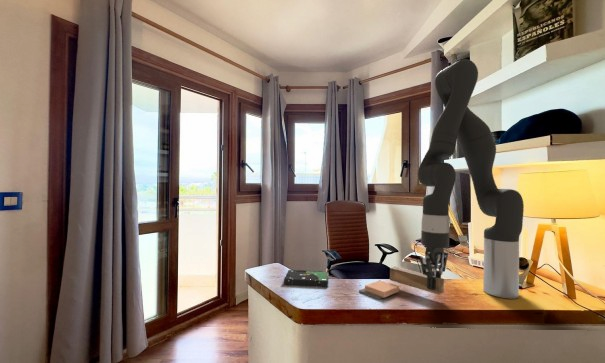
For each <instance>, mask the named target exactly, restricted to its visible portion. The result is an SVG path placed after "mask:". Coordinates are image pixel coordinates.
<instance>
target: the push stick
mask: <svg viewBox="0 0 605 363" xmlns="http://www.w3.org/2000/svg"><path fill="white" fill-rule="evenodd" d="M389 280H390V281H392V282H396V283H398V284H401V285H405V286H408V287H412V288H415V289H418V290H422V291H425V292H428V293H431V294H435V295H441V294H443V293H445V290H444V289H445V288H444V286H445V285H444V283H445V282H444V280H445V279H444V278H443V277H441V278H438V277H436V285H435V290H430V289H428V288H427V276H426V275H423V272H419V271H414V270H411V269H406V268H403V267H399V266H396V265H395V266H391V267H390V268H389Z"/></svg>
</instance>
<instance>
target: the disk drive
mask: <svg viewBox="0 0 605 363" xmlns="http://www.w3.org/2000/svg"><path fill="white" fill-rule="evenodd" d="M285 275H286V276H284V278H283V285H284V286H295V287H309V288H310V287H314V288H315V287H316V288H329V279H330V278H329V271H323V270H321V271H320V270H318V271H317V270H300V269H288V271H287V272H286V274H285ZM310 279H311V280H310ZM322 279H326V280H322Z"/></svg>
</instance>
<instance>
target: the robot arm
mask: <svg viewBox="0 0 605 363" xmlns="http://www.w3.org/2000/svg"><path fill="white" fill-rule="evenodd" d="M478 78H479V71H478V67H477V65H476V64H475V62H473V61H472V60H471V59H468V58H464V59H460V60H458V61H455V62H454V63H452V64H450V65H449V66H447V67H445V68H443V69H442V70H440V71H439V72H438V73H437V74H436V75H435V78H434V87H435V89H436V90H435V91H436V92H437V95H438V96H439V99H440V101H441V103H442V104H443V107H444V109H443V111H442V112H441V114H440V116H439V117H438V119H437V121H436V123H435V125H434V127H433V130H432V133H431V137H430V143H429V147H428V150H427V152H426V153H425V154H424V157H423V158H422V160H421V163H420V165H419V167H418V170H417V178H418V182H419V183H420V184H421V185H422V186H424V187H432V188H433V187H434V189H433V191H432V193H430V194H427V195H425V196H424V197H423V200H422V217H421V228H420V229H421V234H420V235H421V236H420V241H421V245H422V246H425V251H424V256H420V257H419V261H420V267H421V269H422V273H423V275H426V276H427V288H428V289H430V290H435V285H436V277H438V278H442V275H443V273H444V272H445V271H446V267H447V262H448V258H449V257H448V256H449V252H446V251H445V250H444V249H446V248H449V247H450V219H449V218H450V217H449V212H450V211H449V210H450V209H449V208H450V207H449V206H450V205H449V204H450V203H449V202H450V199H451V196H452V193H453V189H454V187H455V183H456V178H457V174H456V170H455V167H454V166H453V165H452V164H451V163H449V162H444V160H446V159H448V158H451V157H452V156H453V155H454V153H455V150H456V146H457V141H458V144H459V147H460V150H461V153H462V155H463V157H464V160H465V163H466V165H467V168H468V171H469V174H470V178H471V181H472V184H473V190H474V194H475V198H476V201H477V204H478V207H479V210H480V211H481V212H482V213H483V214H484V215H486V216H488V217H491V218H495V221H494V225H492V226H490V227H486V228H484V230H483V282H482V284H483V287H482V288H483V290H482V291H483V292H484V293H486V294H487V295H488V294H489V295H490V296H493V297H497V298H503V299H512V300H513V299H517V298H519V296H520V293H519V290H520V289H519V288H520V236H521V233H522V230H523V226H524V225H523V221H524V211H525V210H524V207H525V206H524V199H523V197H522V195H521V193H520V192H519V191H517V190H515V189H511V188H499V187H498V186H497V185H496V182H495V179H494V175H493V174H494V173H493V168H494V163H495V160H496V159H495V158H496V154H497V146H496V141H495V139H494V136H493V133H492V131H491V129H490V127H489V125H488V124H487V123H486V122H485V121H483V119H481V118H480V117H479V116H478V115H476V113H474V112H473V111H472V110H471V109H470V108H469V107H468V105H469V103H470V100H471V97H472V95H473V93H474V90H475V88H476V85H477V82H478Z"/></svg>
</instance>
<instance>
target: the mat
mask: <svg viewBox="0 0 605 363" xmlns="http://www.w3.org/2000/svg"><path fill="white" fill-rule="evenodd" d="M358 292H359V293H360V294H363V295H366V296H369V297H371V298H373V299H376V300H379V301H380V300H381V299H384V297H381V296H378V295H376V294H373V293H370V292H367V291H365V287H364V288H361V289H359V290H358Z"/></svg>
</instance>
